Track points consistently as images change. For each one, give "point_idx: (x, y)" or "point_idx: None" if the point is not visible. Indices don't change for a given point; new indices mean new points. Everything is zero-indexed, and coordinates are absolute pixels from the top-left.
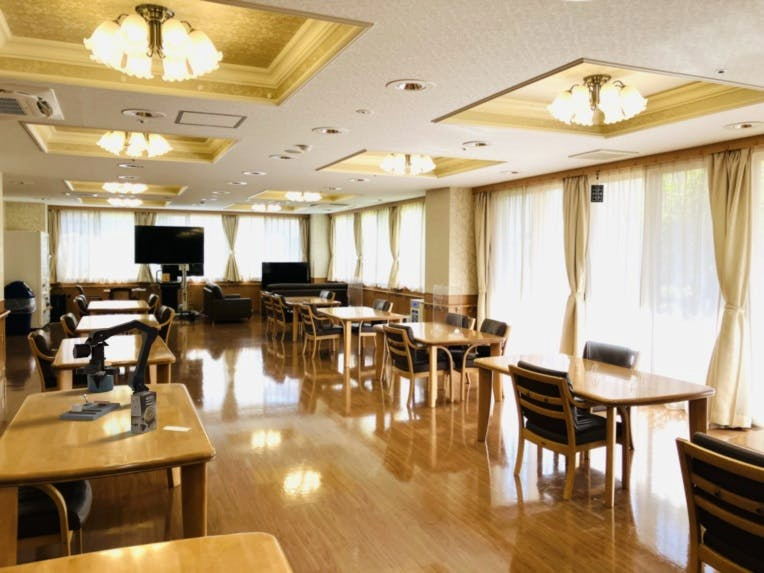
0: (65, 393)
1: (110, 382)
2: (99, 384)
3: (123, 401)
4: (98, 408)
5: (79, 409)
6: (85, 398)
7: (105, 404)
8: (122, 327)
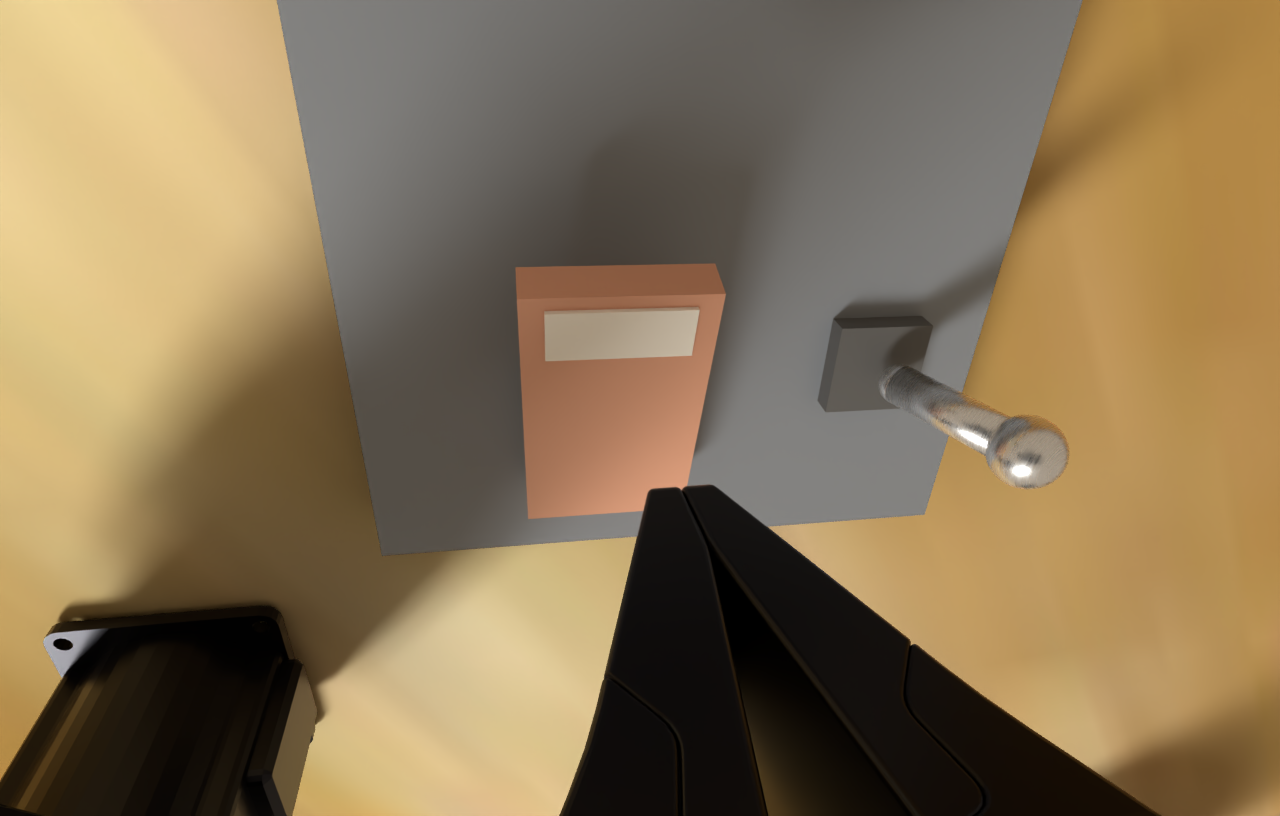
0: (1257, 773)
1: None
2: (624, 597)
3: (532, 715)
4: (549, 162)
5: None
6: (972, 407)
7: None
8: None
